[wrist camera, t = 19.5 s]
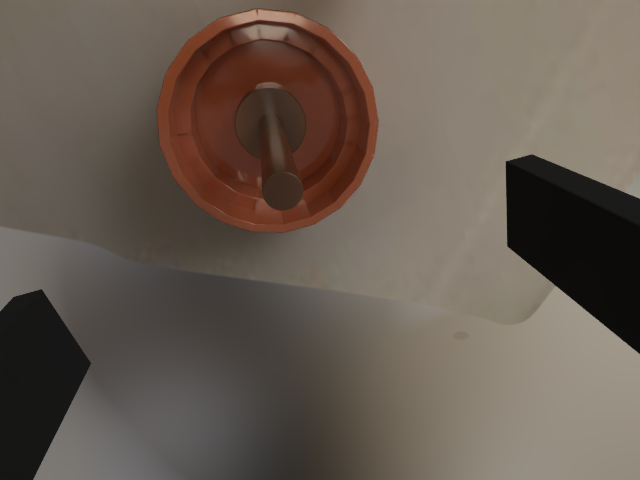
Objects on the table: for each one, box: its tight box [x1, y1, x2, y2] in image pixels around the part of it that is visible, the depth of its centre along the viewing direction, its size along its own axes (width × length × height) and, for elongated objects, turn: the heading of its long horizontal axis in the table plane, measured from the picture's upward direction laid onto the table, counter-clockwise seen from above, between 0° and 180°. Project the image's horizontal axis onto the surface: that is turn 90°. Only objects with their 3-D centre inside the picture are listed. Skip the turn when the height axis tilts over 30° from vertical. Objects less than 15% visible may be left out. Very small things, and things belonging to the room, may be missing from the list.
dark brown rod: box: [235, 85, 306, 211], centre depth 26 cm, size 6×6×18 cm
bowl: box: [157, 8, 379, 232], centre depth 32 cm, size 15×15×6 cm
